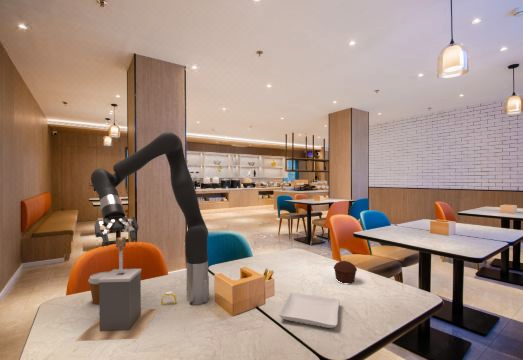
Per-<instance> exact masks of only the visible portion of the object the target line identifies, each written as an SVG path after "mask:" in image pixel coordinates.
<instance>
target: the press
mask: <svg viewBox="0 0 523 360" xmlns="http://www.w3.org/2000/svg"><path fill="white" fill-rule="evenodd" d="M108 272H109V273H107V274H106V275H104V276H103V277H101V278H100V279H98V282H99V304H98V307H99V308H98V309H99V318H100V331H125V330H130V329H131V328H132V326H133V325H134V324H135V322H136V321H137V320H138V319H139V317H140V316H141V309H142V306H141V305H142V297H141V296H142V294H141V293H142V292H141V291H142V290H141V289H142V288H141V285H142V283H141V275H142V274H141V273H142V268H123V275H119V268H113V269H112V270H110V271H108Z"/></svg>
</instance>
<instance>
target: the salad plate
mask: <svg viewBox="0 0 523 360" xmlns="http://www.w3.org/2000/svg"><path fill="white" fill-rule="evenodd" d="M340 302H341V301H340V299H337V298H332V297H323V296H319V295H311V294H306V293H305V294H304V293H297V292H290V293H289V294H288V297H287V298H286V300H285V302H284V304H283V305H282V307H281V309H280V311H279V312H278V316H279V317H280V318H281V319H283V320H287V321H290V322H293V321H295V322H294V323H298V322H300V323H299V324H303V323H305V324H304V325H309V324H310V326H315V325H316V326H315V327H320V326H321V328H322V327H323V328H327V329H333V328H335V327H337V326H338V322H339V308H340Z"/></svg>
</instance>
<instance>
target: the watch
mask: <svg viewBox="0 0 523 360" xmlns="http://www.w3.org/2000/svg"><path fill="white" fill-rule="evenodd" d="M166 296H173V299H174V303H173V305H176V302H177V295H176V294H175V293H173V291H171V290H169V291H166V292H165V293H164V294H163V296H162V297H161V299H160V302H161V303H160V304H161V305H162V306H164V305H165V303H164V301H163V299H164V297H166Z"/></svg>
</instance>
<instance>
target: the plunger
mask: <svg viewBox="0 0 523 360" xmlns="http://www.w3.org/2000/svg"><path fill="white" fill-rule="evenodd" d="M126 241H127V238H126V236H123V237H119V236H118V237H116V238H115V248H118V263H119V264H118V269H119V275H123V269H124V253H123V252H124V250H123V249H124V247H126V246H127V243H126Z"/></svg>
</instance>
